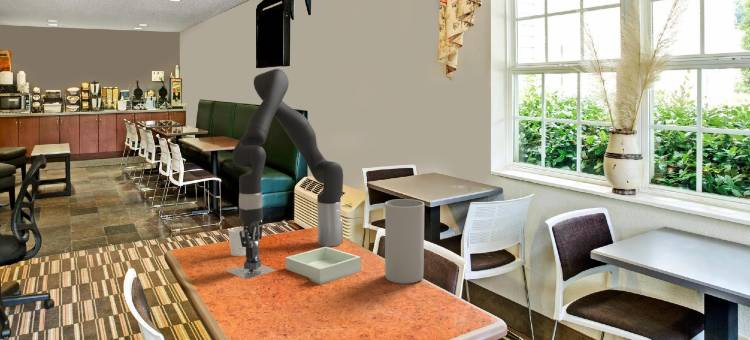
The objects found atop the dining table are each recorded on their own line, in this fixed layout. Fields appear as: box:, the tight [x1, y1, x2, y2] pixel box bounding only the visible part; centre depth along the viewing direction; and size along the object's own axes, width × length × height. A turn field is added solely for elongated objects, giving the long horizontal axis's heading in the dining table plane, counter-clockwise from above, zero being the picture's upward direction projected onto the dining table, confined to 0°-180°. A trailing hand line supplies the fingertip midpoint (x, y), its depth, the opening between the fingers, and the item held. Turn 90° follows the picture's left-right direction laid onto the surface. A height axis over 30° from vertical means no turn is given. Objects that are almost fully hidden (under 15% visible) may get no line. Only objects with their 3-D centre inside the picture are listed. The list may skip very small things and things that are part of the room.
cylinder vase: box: [384, 198, 425, 285], centre depth 174 cm, size 12×12×25 cm
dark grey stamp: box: [243, 239, 262, 270], centre depth 179 cm, size 4×4×9 cm
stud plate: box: [226, 264, 277, 280], centre depth 180 cm, size 12×12×3 cm
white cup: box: [228, 226, 251, 257], centre depth 199 cm, size 8×8×10 cm
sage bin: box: [284, 246, 362, 286], centre depth 182 cm, size 18×18×5 cm
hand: (252, 255), depth 179 cm, fingers closed on dark grey stamp, 4 cm apart
